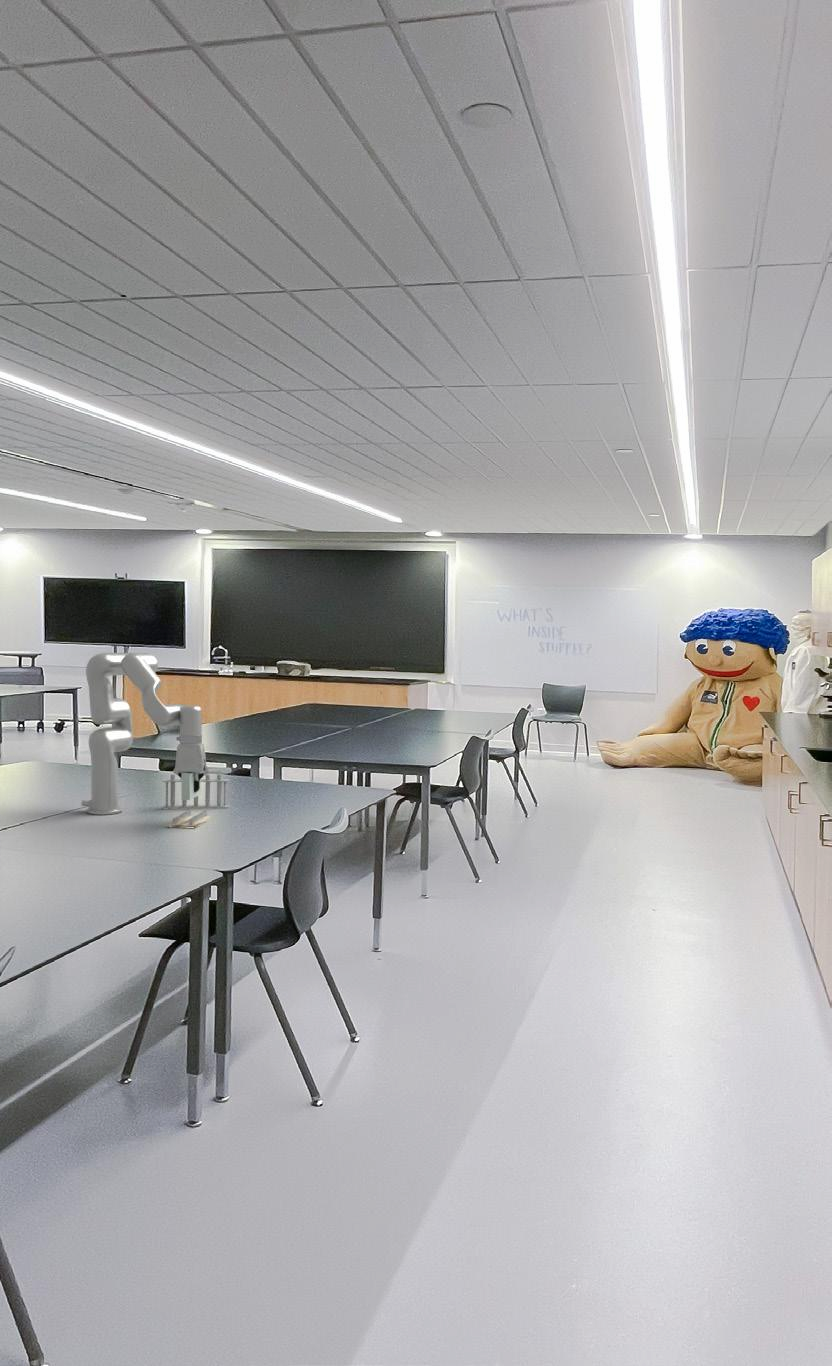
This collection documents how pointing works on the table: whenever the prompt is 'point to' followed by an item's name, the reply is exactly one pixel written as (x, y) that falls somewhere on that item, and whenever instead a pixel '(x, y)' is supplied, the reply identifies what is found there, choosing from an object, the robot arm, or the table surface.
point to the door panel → (189, 786)
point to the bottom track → (190, 820)
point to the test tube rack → (207, 796)
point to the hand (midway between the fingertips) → (191, 790)
